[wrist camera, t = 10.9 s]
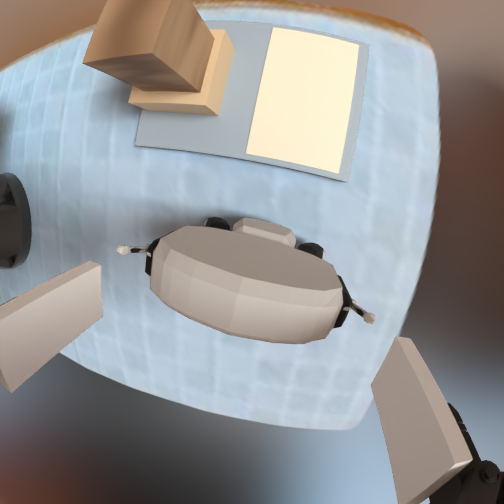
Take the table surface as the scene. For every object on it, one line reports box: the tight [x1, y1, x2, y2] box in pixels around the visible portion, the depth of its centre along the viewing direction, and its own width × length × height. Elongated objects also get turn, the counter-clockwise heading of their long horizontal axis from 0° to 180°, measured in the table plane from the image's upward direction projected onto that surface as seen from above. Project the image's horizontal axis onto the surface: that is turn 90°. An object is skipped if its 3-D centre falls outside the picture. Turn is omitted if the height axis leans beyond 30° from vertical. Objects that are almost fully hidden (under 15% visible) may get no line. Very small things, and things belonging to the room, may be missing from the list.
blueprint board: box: [128, 20, 369, 182], centre depth 19 cm, size 20×14×5 cm
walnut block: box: [83, 0, 215, 93], centre depth 13 cm, size 5×5×8 cm
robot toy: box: [117, 217, 375, 344], centre depth 18 cm, size 12×4×15 cm, turn 77°
